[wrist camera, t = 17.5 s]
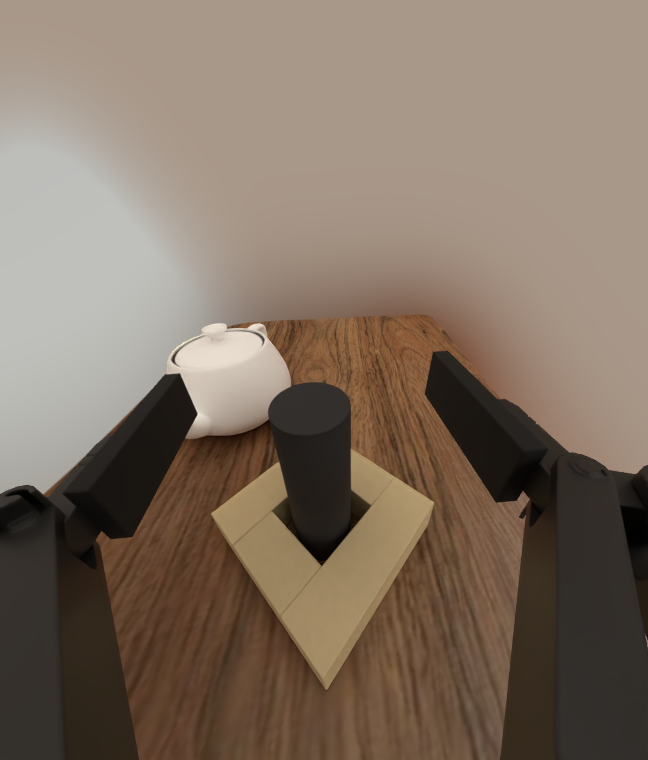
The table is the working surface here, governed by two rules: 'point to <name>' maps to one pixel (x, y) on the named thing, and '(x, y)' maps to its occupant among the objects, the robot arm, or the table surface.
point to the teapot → (229, 378)
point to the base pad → (342, 569)
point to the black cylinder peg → (315, 462)
